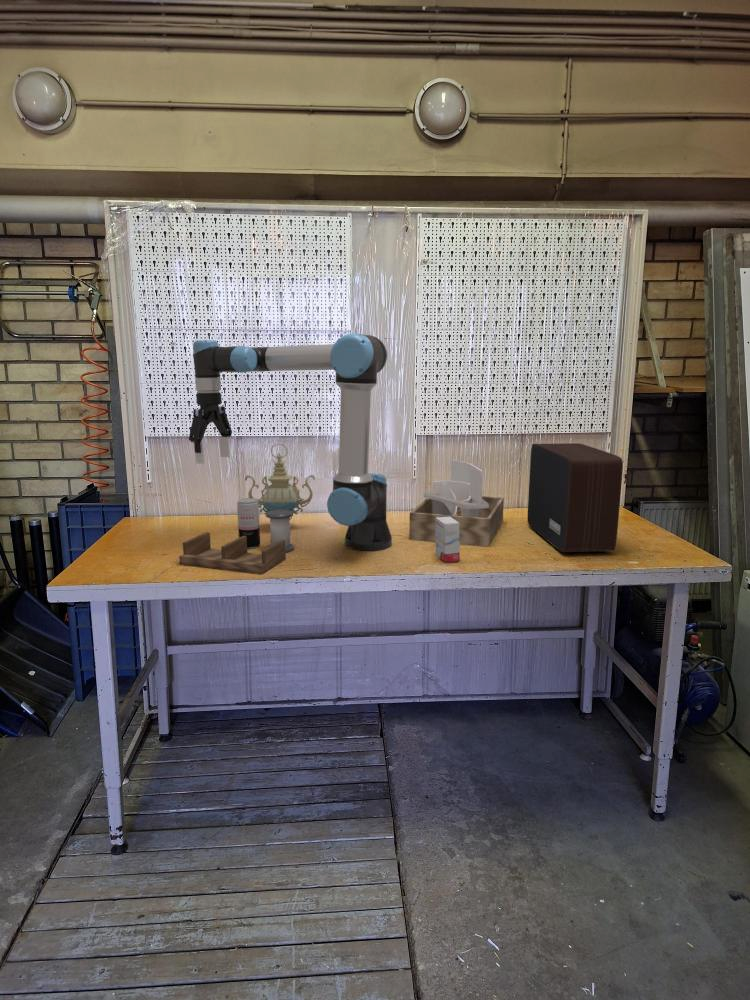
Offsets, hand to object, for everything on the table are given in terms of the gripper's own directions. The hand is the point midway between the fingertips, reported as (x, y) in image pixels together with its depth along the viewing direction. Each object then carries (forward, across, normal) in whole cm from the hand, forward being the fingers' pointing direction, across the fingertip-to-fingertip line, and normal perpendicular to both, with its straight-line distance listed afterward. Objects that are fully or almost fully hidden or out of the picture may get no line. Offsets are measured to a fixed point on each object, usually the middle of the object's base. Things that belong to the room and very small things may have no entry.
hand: (213, 460), depth 196 cm
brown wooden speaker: (+28, -39, +108) cm, 118 cm away
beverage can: (+27, +1, +12) cm, 30 cm away
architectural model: (+28, -39, +71) cm, 86 cm away
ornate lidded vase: (+27, -21, +12) cm, 37 cm away
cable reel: (+27, +1, +23) cm, 36 cm away
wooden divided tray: (+27, +16, +16) cm, 35 cm away
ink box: (+28, -7, +74) cm, 79 cm away
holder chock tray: (+27, -39, +71) cm, 86 cm away
